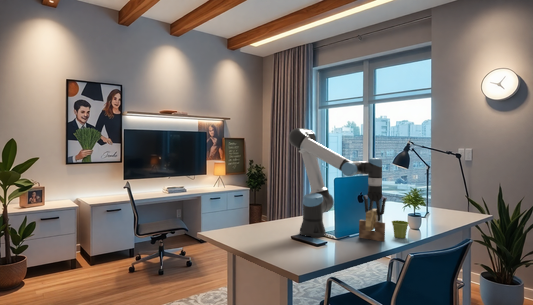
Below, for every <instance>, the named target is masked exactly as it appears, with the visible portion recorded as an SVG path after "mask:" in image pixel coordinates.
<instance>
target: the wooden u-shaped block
mask: <svg viewBox="0 0 533 305" xmlns="http://www.w3.org/2000/svg"><path fill="white" fill-rule="evenodd" d="M385 231H386V223H385V222H381V221H379V222H375V228H374V230H371V231H366V219H359V221H358V238H360V239H365V240H366V239H367V240H371V241H372V240H373V241H378V242H385V241H386V240H385V239H386V237H385V236H386V232H385Z"/></svg>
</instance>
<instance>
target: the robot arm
mask: <svg viewBox="0 0 533 305" xmlns="http://www.w3.org/2000/svg"><path fill="white" fill-rule="evenodd" d="M288 141H289V143H290V145H291V146H292V147H294V148H296V149H297V150H298V153H300V154H301V157H302V161H303V163H304V164H303V165H304V167H305V170H306V171H305V172H306V175H307V179H308V182H309V186H310V189H311V191H310V192H309V193H306V194H304V195H303V199H302V221H301V225H300V229H299V234H301V235H300V236H302V235H306V236H311V237H310V238H321V237H325V236H324V234H325V235H326V228H325V224H324V222H323V219H324V215H323V214H324V213H327V212H329V211H330V210H332V209H333V206H334V204H335V200H334V197H333V195H332V194H331V193H330V191H329V189H328V188H327V187H326V186H325V183H324V180H323V179H324V178H323V175H322V172H321V168H320V164H319V161H318V159H319V160H321V161H323V162H324V163H326V164H328V165H330V166H332V167H334V168H335V169H337V170H339V171H341V173H342V174H343V175H344V176H346V177H352V176H353V177H354V176H356V175H367V177H368V181H367V182H368V183H367V184H368V186H367V194H365V195H363V196H362V198H363V201H364V211H365V213H366V212H368V211H370V210H372V209H374V202H375V206H376V209H377V215H376V222H381V216H383V215H384V214H385V208H386V202H387V200H388V197H386V196H384V195H383V186H382V185H383V160H382V158H379V157H370V158H368V161H364V160H363V161H362V160H350V159H348V158H346V157H344V156H342V155H341V154H339V153H337V152H335V151H333V150H332V149H330V148H327V147H326V146H324V145H322V144H320V143H319V142H317V135H316V132H315V131H313V130H312V129H309V128H301V127H299V128H298V127H297V128H294V129H292V130H291V131H290V132H289V134H288ZM368 199H369V200H368ZM380 201H381V204H380ZM306 236H305V237H306Z"/></svg>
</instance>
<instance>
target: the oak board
mask: <svg viewBox="0 0 533 305" xmlns="http://www.w3.org/2000/svg"><path fill="white" fill-rule="evenodd" d="M376 215H377V208H372V210H370V211H368V212H365V220H366V231H371V230H372V231H374V229H375V222H376Z"/></svg>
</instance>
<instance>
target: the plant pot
mask: <svg viewBox="0 0 533 305" xmlns="http://www.w3.org/2000/svg"><path fill="white" fill-rule="evenodd" d="M391 224H392V230H393V236H394V238H398V239H405V238H406V237H407V236H406V235H407V230H408V227H409V225H410V222H409V221H406V220H391Z"/></svg>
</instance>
